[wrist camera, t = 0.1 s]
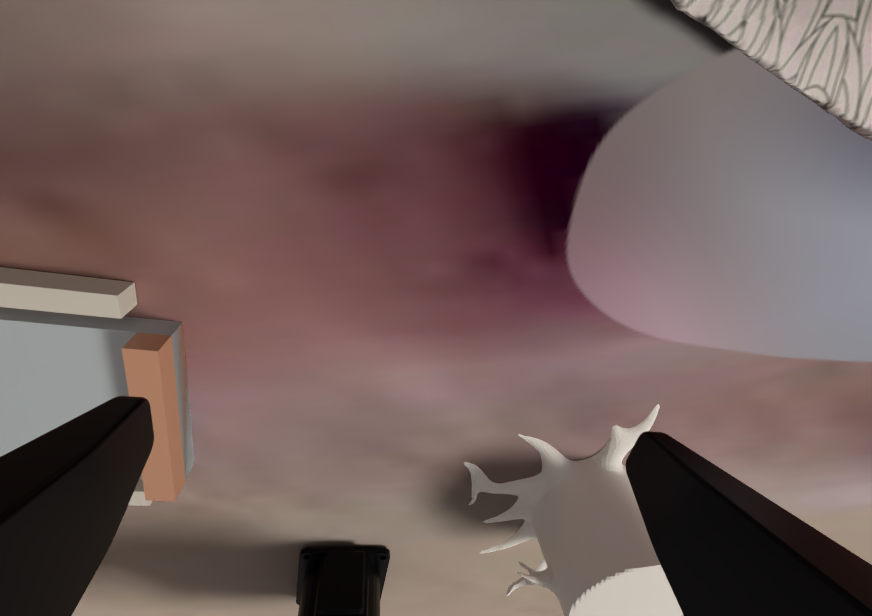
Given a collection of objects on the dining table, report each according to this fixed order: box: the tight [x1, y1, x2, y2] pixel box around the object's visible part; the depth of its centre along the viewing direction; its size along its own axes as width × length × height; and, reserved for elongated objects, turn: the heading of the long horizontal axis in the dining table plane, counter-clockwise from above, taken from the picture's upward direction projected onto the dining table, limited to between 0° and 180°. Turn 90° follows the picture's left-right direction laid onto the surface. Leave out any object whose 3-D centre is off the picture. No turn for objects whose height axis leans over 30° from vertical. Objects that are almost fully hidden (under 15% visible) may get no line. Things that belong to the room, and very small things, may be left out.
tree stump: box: [464, 404, 683, 616], centre depth 29 cm, size 20×19×8 cm
